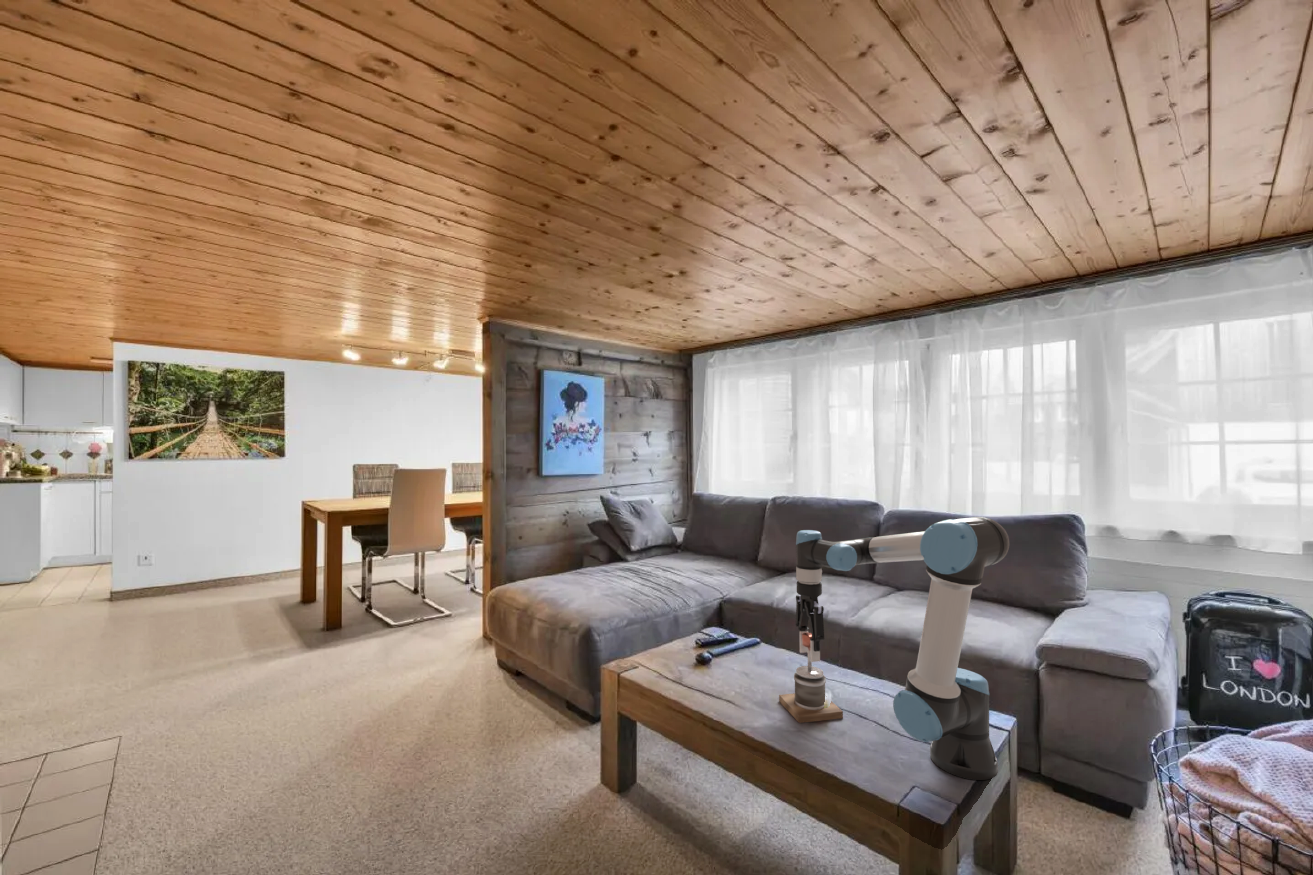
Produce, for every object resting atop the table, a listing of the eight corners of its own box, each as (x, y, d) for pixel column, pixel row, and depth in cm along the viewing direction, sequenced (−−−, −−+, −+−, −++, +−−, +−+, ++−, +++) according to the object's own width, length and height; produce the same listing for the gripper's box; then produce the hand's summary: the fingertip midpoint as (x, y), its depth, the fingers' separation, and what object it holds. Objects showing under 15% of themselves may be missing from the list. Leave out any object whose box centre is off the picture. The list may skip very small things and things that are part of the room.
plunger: (828, 677, 166) (827, 638, 167) (803, 680, 165) (803, 640, 165) (815, 667, 174) (815, 629, 174) (791, 669, 173) (791, 631, 173)
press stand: (842, 718, 164) (842, 684, 164) (799, 722, 161) (798, 688, 161) (819, 696, 178) (819, 665, 178) (779, 701, 175) (778, 669, 175)
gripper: (836, 588, 161) (837, 667, 161) (805, 573, 180) (806, 644, 180) (812, 590, 160) (813, 670, 159) (784, 574, 179) (784, 646, 178)
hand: (809, 656), depth 170 cm, fingers open, 7 cm apart
